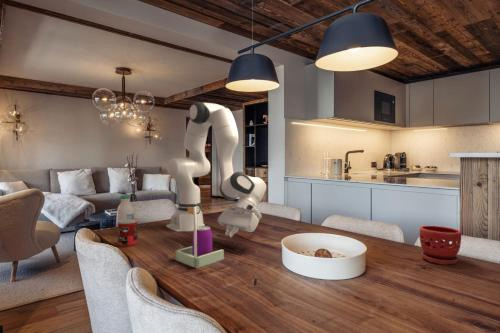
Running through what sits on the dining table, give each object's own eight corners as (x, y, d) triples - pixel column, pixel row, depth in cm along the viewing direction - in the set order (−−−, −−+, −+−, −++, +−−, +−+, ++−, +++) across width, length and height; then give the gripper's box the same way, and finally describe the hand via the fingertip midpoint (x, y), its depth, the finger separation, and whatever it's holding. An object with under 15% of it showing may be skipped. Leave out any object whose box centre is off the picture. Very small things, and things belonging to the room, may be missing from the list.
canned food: (115, 245, 137) (114, 220, 137) (132, 241, 143) (132, 218, 143) (123, 248, 132) (122, 223, 132) (140, 244, 138) (140, 220, 137)
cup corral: (175, 259, 117) (174, 203, 116) (202, 251, 126) (201, 200, 126) (196, 268, 108) (195, 207, 107) (223, 259, 117) (223, 203, 116)
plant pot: (466, 268, 105) (466, 234, 105) (422, 264, 110) (423, 231, 109) (455, 256, 117) (455, 225, 117) (416, 253, 122) (417, 223, 121)
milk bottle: (121, 237, 151) (120, 196, 150) (115, 234, 157) (114, 195, 156) (136, 234, 156) (135, 195, 155) (131, 231, 162) (130, 194, 161)
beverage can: (211, 261, 114) (210, 229, 114) (190, 262, 114) (190, 230, 114) (213, 255, 122) (212, 225, 122) (194, 255, 122) (193, 225, 122)
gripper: (224, 202, 140) (208, 227, 133) (257, 207, 126) (241, 235, 119) (231, 211, 143) (215, 235, 137) (264, 216, 129) (249, 244, 123)
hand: (228, 236), depth 128 cm, fingers closed
